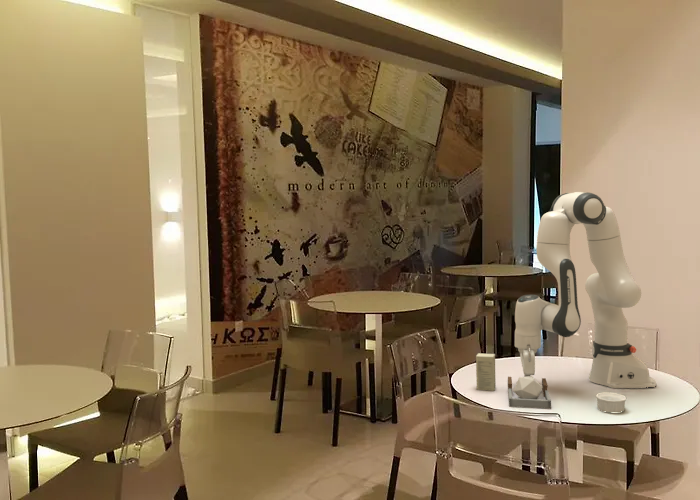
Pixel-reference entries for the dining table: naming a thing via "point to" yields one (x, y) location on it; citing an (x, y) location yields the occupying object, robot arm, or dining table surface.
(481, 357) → the skincare box
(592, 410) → the dining table surface
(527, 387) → the die
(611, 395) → the ramekin
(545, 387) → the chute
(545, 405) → the tray
